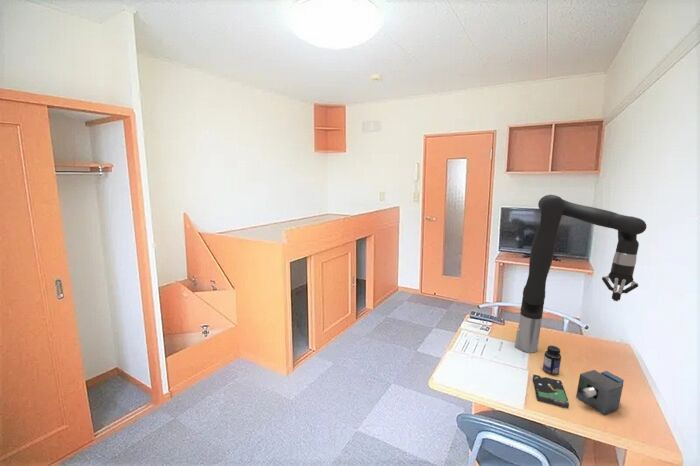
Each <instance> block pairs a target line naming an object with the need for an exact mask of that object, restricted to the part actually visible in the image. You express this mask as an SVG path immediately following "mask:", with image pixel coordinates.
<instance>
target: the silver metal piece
mask: <svg viewBox="0 0 700 466" xmlns="http://www.w3.org/2000/svg"><path fill="white" fill-rule="evenodd" d="M600 373H601V374H603V375H605V376H606V377H608V378H610V379H612V380H614V381H616V382H617V383H619V384H621V385H623V386H624V381H625V379H623V378H620V377H619V376H617V375H615V374H613V373H612V372H610V371H608V370H605V371H602V372H600ZM582 393H583V395H584V396H585V397H587V398H590V397H593V396H596V395H597V394H598V390H597V389H596V388H594V387H588V388H585V389H583V390H582Z"/></svg>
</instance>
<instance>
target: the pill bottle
mask: <svg viewBox="0 0 700 466" xmlns="http://www.w3.org/2000/svg"><path fill="white" fill-rule="evenodd" d="M561 362H562V355H561V348H559V347H558V346H556V345H552V344H551V345H548V346H547V350H546V351H544V355H543V364H542V370H543V371H544V372H545V373H546V374H548V375H553V376H556V375H559V373H560V369H561Z"/></svg>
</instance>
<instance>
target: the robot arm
mask: <svg viewBox="0 0 700 466" xmlns="http://www.w3.org/2000/svg"><path fill="white" fill-rule="evenodd" d="M537 206H538V209H539V211H540V221H539V226H538V229H537V232H536V233H535V236H534V237H533V241H532V244H531V249H530V253H529V263H528V264H529V266H528V275H527V280H526V284H525V285H524V287H523V290H522V300H521V307H520V312H519V321H518V327H517V329H516V335H515V336H516V338H515V344H514V345H515V346H514V347H515V348H516V349H518V350H520V351H522V352H525V353H528V354H529V353H530V354H531V353H532V354H533V353H536V352H538V347H539V339H540V334H541V327H542V321H543V314H544V307H545V306H544V305H545V299H546V285H547V284H546V283H547V278H548V276H549V275H548V274H549V272H550V269H551V266H552V264H553V258H554V256H555V250H556V245H557V238H558V231H559V226H560V223H561V220H562V217H563V216H565V217H569V218H571V219H572V218H573V219H576V220H579V221H582V222H585V223H587V224H588V223H589V224H591V225H595V226H599V227H603V228H607V229H613V230H615V231H617V244H616V248H615V249H616V250H615V252H614V255H613V258H612V262H611V263H612V264H611V268H610V272H609V273H608V274H607V276H602V277H601V280H602V282H603V283H604V284H605V286H606V287H607V289H608V290H609V291H611V292H612V295H611V299H612V300H613V301H614V302H619V301H620V300H621V298H622V294H628V293H630V292H631V291H633V290H634V289H637V288H638V287H639V283H638V282H636V281H634V271H635V269H636V263H637V255H638V251H639V246H640V243H639V241H638V239H637V238H638V237H637V236H638V235H640V234H643V233H644V232H645V231H646V230H647V222H646V221H645V220H643V219H642V218H640V217H635V216H630V215H629V216H628V215H624V214H620V213H618V212H614V211H610V210H607V209H603V208H597V207H593V206H588V205H582V204H577V203H574V202H570V201H568V200H565V199H563V198H562V197H560V196H558V195H555V194H547V195H544V196H542V197H541V198H540V199H539V201H538V204H537ZM610 282H611V283H612V284H613V286H612V285H611V283H610ZM629 284H630V285H629ZM628 285H629V286H628ZM618 286H619V288H618ZM626 286H628V287H626ZM625 287H626V288H625Z"/></svg>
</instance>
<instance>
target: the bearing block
mask: <svg viewBox="0 0 700 466" xmlns="http://www.w3.org/2000/svg"><path fill="white" fill-rule="evenodd" d="M578 378H579V379H578V385H577V390H576V397H575V398H576V399H578V400H580V401H582V402H583V403H584V404H586V405H587V406H589V407H590V408H592V409H594V410H595V411H597V412H598V413H600V415H603V416H605V414H606V415H608V414H611V413H614V412H616V411H619V407H620V402H621V397H622V393H623V387H624V384H623V385H621V384H619V383H617V382H616V381H614V380H612V379H610V378H608V377H606V376H605V375H603V374H601V372H599V371H598V370H595V369H593V370H589V371H585V372H582V373H580V374H579V377H578ZM588 387H594V388H596V389H597V390H598V394H597V395H596V396H593V397H590V398H587V397H585V396H584V395H583V393H582V390H583V389H585V388H588Z"/></svg>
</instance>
